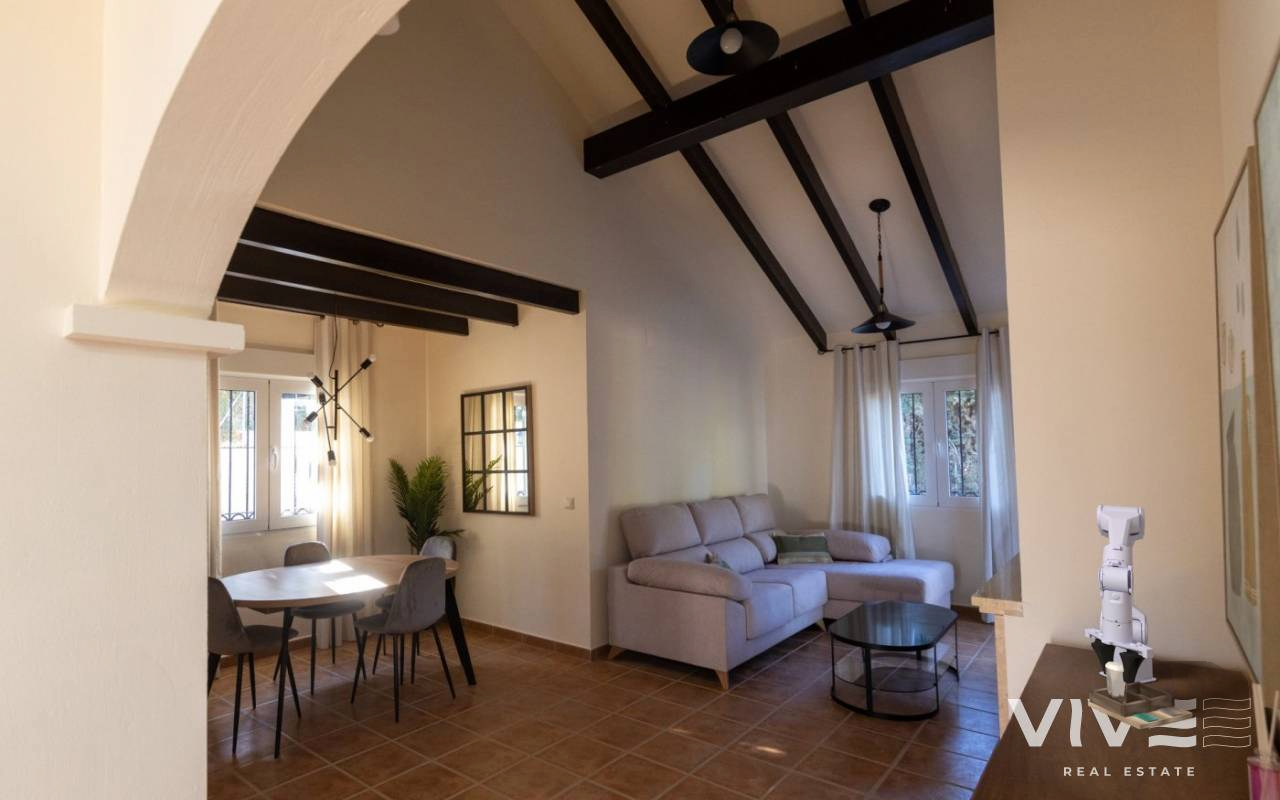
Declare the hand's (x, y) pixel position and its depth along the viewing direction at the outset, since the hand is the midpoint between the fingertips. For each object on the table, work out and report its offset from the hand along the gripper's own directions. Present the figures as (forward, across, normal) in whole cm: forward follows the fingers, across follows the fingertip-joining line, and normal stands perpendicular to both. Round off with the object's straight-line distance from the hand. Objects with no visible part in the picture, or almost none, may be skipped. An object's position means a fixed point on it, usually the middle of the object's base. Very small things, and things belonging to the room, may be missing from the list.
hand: (1118, 678), depth 152 cm
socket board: (+8, +2, +4) cm, 9 cm away
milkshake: (+6, 0, -1) cm, 6 cm away
